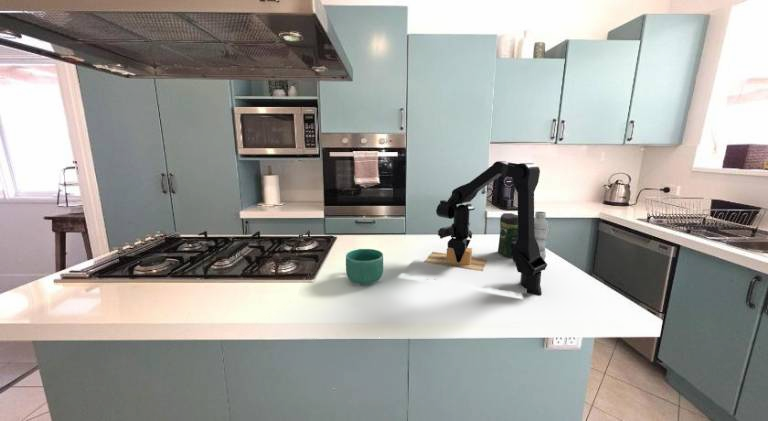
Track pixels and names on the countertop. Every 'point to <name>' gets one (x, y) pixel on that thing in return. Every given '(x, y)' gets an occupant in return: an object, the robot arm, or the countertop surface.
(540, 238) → the plastic bottle
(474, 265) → the oak board
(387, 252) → the countertop surface
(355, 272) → the mug
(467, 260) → the block
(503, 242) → the coffee jar
